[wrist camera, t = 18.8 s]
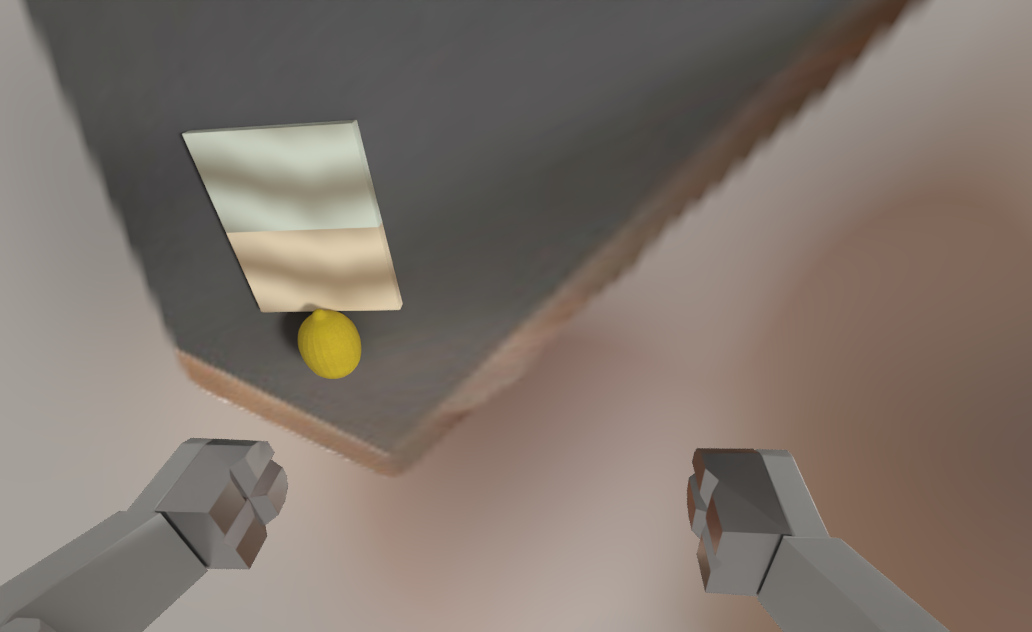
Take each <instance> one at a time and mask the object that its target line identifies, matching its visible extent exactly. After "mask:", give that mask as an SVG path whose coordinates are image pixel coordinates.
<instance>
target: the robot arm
mask: <svg viewBox="0 0 1032 632" xmlns="http://www.w3.org/2000/svg"><path fill="white" fill-rule="evenodd" d="M273 455H274V451H273V449H272V448H271V446H270V444H269V443H268V442H267V441H250V440H229V439H201V438H190V439H189V440H187V441H185V442H183V443H182V444H181V445H180V446H179V447H178V448H177V450H176V451H175V452H174V453H173V455H172V456H171V457H170V458H169V460H168V461H167V462H166V463H165V464H164V466H163V467H162V468H161V469H160V471H159V472H158V473H157V474H156V475H155V477H154V478H153V479H152V481H151V482H150V483H149V484H148V485H147V487H146V488H145V489H144V490H143V491H142V493H141V494H140V495H139V496H138V498H137V499H136V500H135V501H134V503H133V504H132V505H131V506H130V508H129V509H128V510H127V511H119V512H117V513H115V514H114V515H112V516H111V517H109V518H107V519H106V520H104V521H103V522H101V523H99V524H98V525H97V526H95V527H93V528H92V529H90V530H89V531H87V532H85V533H84V534H82V535H81V536H79V537H77V538H76V539H74V540H73V541H71V542H70V543H68V544H66V545H65V546H63V547H62V548H60V549H58V550H57V551H55V552H54V553H52V554H51V555H49V556H47V557H46V558H44V559H43V560H41V561H39V562H38V563H36V564H35V565H33V566H32V567H30V568H28V569H27V570H25V571H24V572H22V573H20V574H19V575H17V576H16V577H14V578H13V579H11V580H9V581H8V582H6V583H5V584H3V585H2V586H0V632H142V631H144V630H145V629H146V628H147V626H149V625H150V624H151V623H152V622H153V621H154V620H155V619H156V618H158V617H159V616H160V615H161V614H162V613H163V612H164V611H165V610H166V609H167V608H168V607H169V606H171V605H172V604H173V603H174V602H175V601H176V600H177V599H178V598H179V597H180V596H181V595H182V594H183V593H185V592H186V591H187V590H188V589H189V588H190V587H191V586H192V585H193V584H194V583H195V582H196V581H198V580H199V579H200V578H201V577H202V576H203V575H204V574H205V573H206V572H207V571H208V570H207V569H206V568H208V569H210V568H211V569H250V568H251V566H252V564H253V562H254V560H255V558H256V556H257V554H258V552H259V551H260V549H261V547H262V545H263V543H264V541H265V539H266V537H267V532H266V526H265V525H266V524H267V523H269V522H270V521H271V520H272V519H274V518H275V517H276V516H277V515H278V514H279V513H280V510H281V508H282V506H283V504H284V502H285V499H286V494H287V489H288V483H287V476H286V474H285V471H284V469H283V468H282V467H281V466H280V465H278V464H277V463H275V462H274V461H273V460H271V459H272V457H273ZM692 464H693V467H694V472H695V473H694V474H693V475H692V476H690V477H689V480H688V487H687V508H688V516H689V521H690V526H691V530H692V531H693V532H694V533H695V534H696V535H697V536H698V537H699V539H700V542H699V546H698V550H697V558H698V563H699V567H700V572H701V576H702V581H703V584H704V589H705V592H707V593H721V594H733V595H734V594H735V595H747V596H758V598H757V599H758V601H759V602H760V603H761V605H762V606H763V607H764V608H765V609H766V611H767V612H768V613H769V614H770V616H771V617H772V618H773V619H774V621H775V622H776V623H777V624H778V626H779V627H780V628H781V629H782V631H783V632H950V631H949V630H948V629H947V628H946V627H944V626H943V625H942V624H941V623H940V622H939V621H937V620H936V619H935V618H934V617H932V616H931V615H930V614H929V613H928V612H927V611H926V610H924V609H923V608H922V607H921V606H920V605H918V604H917V603H916V602H915V601H914V600H912V599H911V598H910V597H909V596H908V595H907V594H905V593H904V592H903V591H902V590H901V589H899V588H898V587H897V586H896V585H895V584H894V583H892V582H891V581H890V580H889V579H888V578H886V577H885V576H884V575H883V574H882V573H881V572H879V571H878V570H877V569H876V568H875V567H873V566H872V565H871V564H870V563H869V562H868V561H866V560H865V559H864V558H862V557H861V556H860V555H859V554H858V553H857V552H856V551H855V550H853V549H852V548H851V547H850V546H848V545H847V544H846V543H845V542H844V541H843V540H841V539H840V538H830V536H829V534H828V532H827V530H826V528H825V526H824V523H823V521H822V519H821V517H820V515H819V513H818V510H817V508H816V506H815V504H814V502H813V500H812V497H811V495H810V493H809V491H808V489H807V487H806V484H805V483H804V480H803V478H802V476H801V474H800V471H799V469H798V467H797V465H796V463H795V461H794V459H793V456H792V455H791V454H790V453H789V452H788V451H787V450H763V449H762V450H761V449H757V450H754V449H719V448H718V449H717V448H716V449H715V448H711V449H710V448H704V449H703V448H697V449H696V451H695V452H694V456H693V460H692Z"/></svg>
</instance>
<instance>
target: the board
mask: <svg viewBox="0 0 1032 632" xmlns="http://www.w3.org/2000/svg"><path fill="white" fill-rule="evenodd" d="M182 135H183V137H184V140H185V142H186V144H187V146H188V149H189V151H190V153H191V155H192V158H193V160H194V162H195V164H196V167H197V169H198V171H199V173H200V175H201V178H202V180H203V182H204V184H205V187H206V189H207V191H208V193H209V196H210V198H211V200H212V202H213V205H214V207H215V209H216V211H217V213H218V216H219V218H220V220H221V222H222V225H223V227H224V229H225V231H226V234H227V236H228V238H229V240H230V242H231V245H232V247H233V249H234V251H235V254H236V256H237V258H238V260H239V263H240V265H241V267H242V269H243V272H244V274H245V276H246V278H247V280H248V283H249V285H250V287H251V289H252V292H253V294H254V296H255V298H256V301H257V303H258V305H259V307H260V310H261V312H300V311H314V310H316V309H322V310H332V311H358V310H400V308H401V306H402V300H401V296H400V292H399V288H398V284H397V280H396V276H395V272H394V268H393V264H392V260H391V256H390V252H389V248H388V244H387V240H386V236H385V232H384V228H383V224H382V220H381V216H380V212H379V208H378V204H377V200H376V196H375V192H374V188H373V184H372V180H371V176H370V172H369V168H368V164H367V160H366V156H365V152H364V147H363V143H362V139H361V135H360V131H359V127H358V123H357V120H346V121H331V122H315V123H299V124H284V125H268V126H252V127H237V128H221V129H205V130H190V131H187V132H185V133H183V134H182Z"/></svg>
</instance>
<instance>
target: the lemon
mask: <svg viewBox="0 0 1032 632" xmlns="http://www.w3.org/2000/svg"><path fill="white" fill-rule="evenodd" d="M298 347H299V351H300V353H301V355H302V357H303V359H304V361H305V363H306V364H307V365H308V367H309V368H310V369H311V370H312V371H313V372H315V373H316V374H317V375H319V376H321V377H324V378H329V379H336V378H341V377H344V376H346V375H348V374H349V373H351V372H352V371H353V370H354V369H355V368H356V366H357V365H358V363H359V360H360V357H361V341H360V337H359V334H358V331H357V329H356V327H355V325H354V324H353V322H352V321H351V320H350V319H349V318H348V317H346V316H345V315H344V314H342V313H339V312H337V311H332V310H322V309H316V310H314V312H313V313H312V315H310V316H309V317H308V318H307V319H305V321H304V322H303V323H302V325H301V327H300V329H299V332H298Z"/></svg>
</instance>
